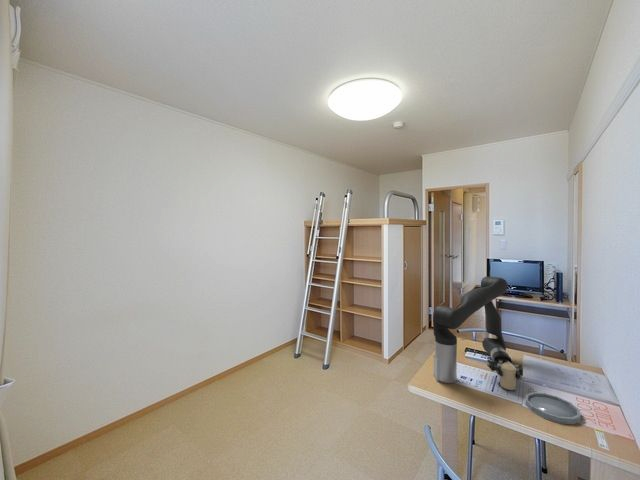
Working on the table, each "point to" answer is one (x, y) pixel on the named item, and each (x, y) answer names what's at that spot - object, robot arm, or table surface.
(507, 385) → the candle
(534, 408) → the dish
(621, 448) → the table surface
